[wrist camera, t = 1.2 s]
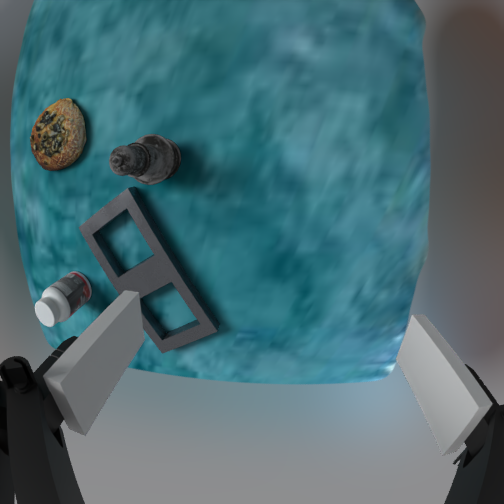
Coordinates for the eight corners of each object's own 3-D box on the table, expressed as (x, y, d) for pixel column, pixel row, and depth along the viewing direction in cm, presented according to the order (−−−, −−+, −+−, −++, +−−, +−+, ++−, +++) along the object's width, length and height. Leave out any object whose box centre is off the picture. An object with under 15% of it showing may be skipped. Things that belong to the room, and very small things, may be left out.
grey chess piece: (151, 190, 35) (102, 205, 23) (133, 150, 33) (78, 150, 22) (191, 168, 34) (152, 174, 22) (171, 127, 32) (126, 115, 21)
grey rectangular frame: (86, 224, 37) (78, 227, 35) (134, 186, 35) (127, 188, 33) (166, 345, 42) (162, 353, 40) (219, 323, 40) (217, 331, 38)
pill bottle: (90, 306, 41) (57, 338, 32) (66, 291, 40) (31, 319, 31) (94, 279, 39) (58, 308, 30) (69, 264, 39) (31, 289, 30)
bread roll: (31, 161, 34) (11, 160, 29) (55, 96, 32) (37, 89, 27) (77, 181, 35) (58, 181, 30) (105, 109, 33) (89, 100, 28)
